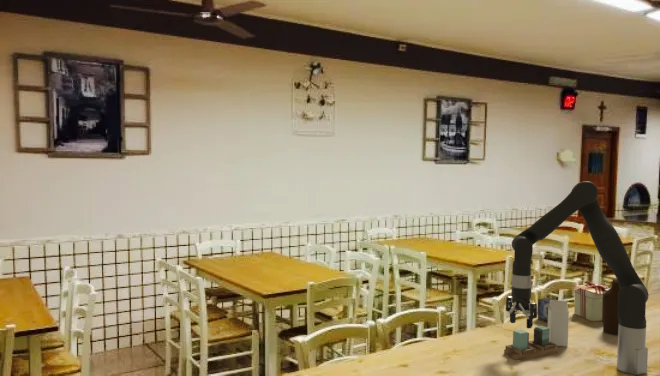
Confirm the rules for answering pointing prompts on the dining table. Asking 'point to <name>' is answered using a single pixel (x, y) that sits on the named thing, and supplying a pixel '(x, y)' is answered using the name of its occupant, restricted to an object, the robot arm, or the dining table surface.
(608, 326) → the olive oil
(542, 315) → the small box
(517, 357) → the walnut rail
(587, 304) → the gift box
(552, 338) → the milk carton
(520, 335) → the teal rectangular block
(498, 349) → the dining table surface
